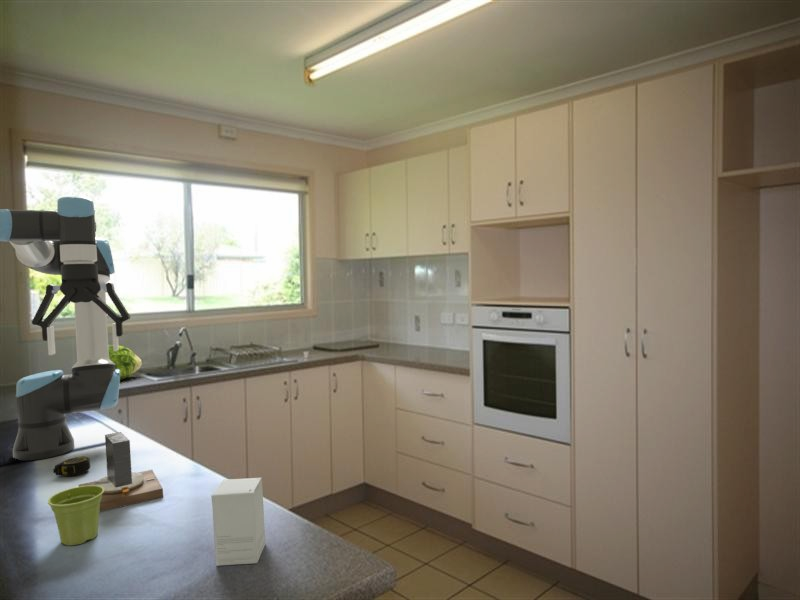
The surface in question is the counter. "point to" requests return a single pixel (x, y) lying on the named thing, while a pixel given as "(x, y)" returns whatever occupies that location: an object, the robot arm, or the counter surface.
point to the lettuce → (124, 361)
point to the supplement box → (238, 521)
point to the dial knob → (119, 466)
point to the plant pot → (77, 513)
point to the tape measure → (72, 466)
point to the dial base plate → (132, 493)
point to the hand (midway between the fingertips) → (84, 352)
